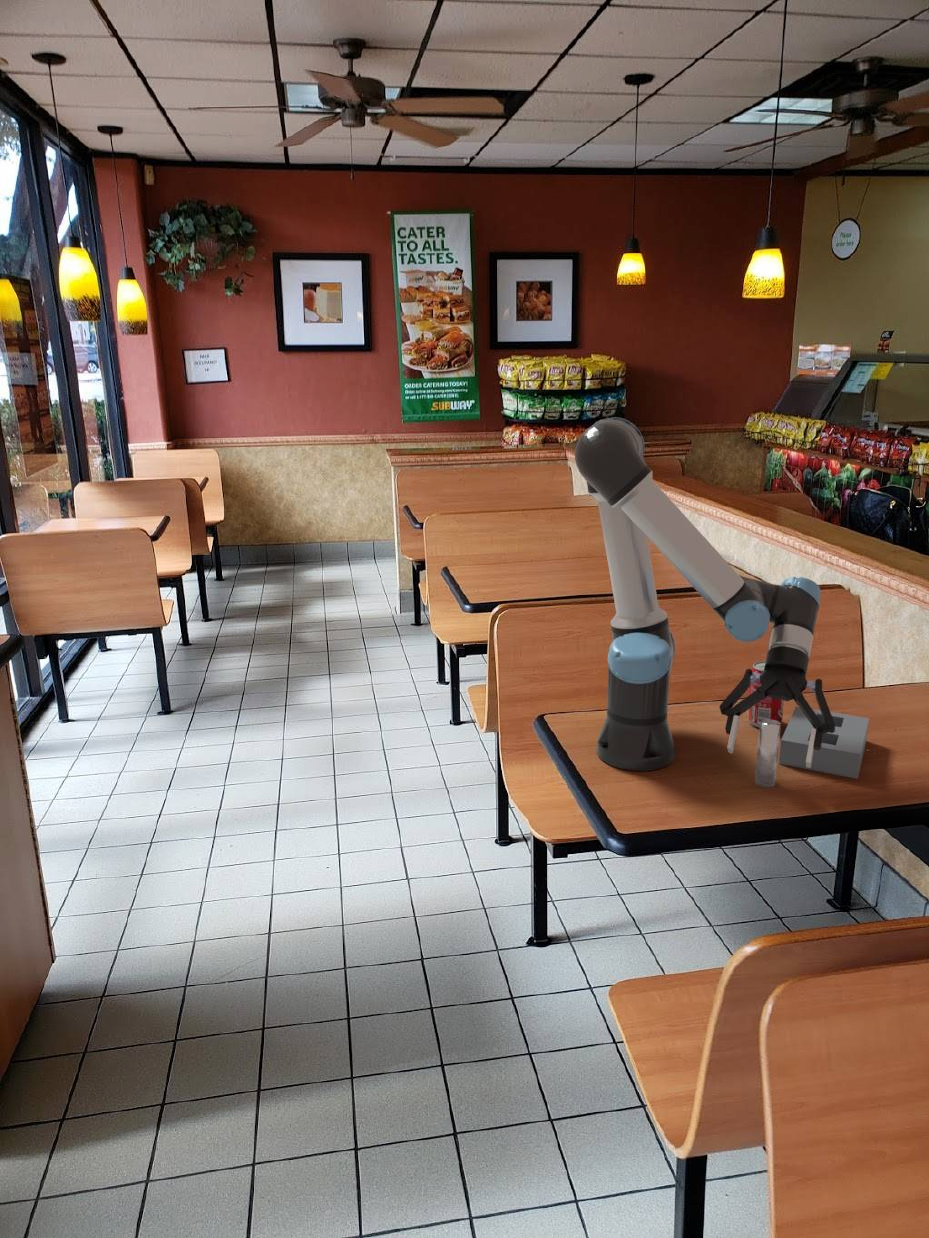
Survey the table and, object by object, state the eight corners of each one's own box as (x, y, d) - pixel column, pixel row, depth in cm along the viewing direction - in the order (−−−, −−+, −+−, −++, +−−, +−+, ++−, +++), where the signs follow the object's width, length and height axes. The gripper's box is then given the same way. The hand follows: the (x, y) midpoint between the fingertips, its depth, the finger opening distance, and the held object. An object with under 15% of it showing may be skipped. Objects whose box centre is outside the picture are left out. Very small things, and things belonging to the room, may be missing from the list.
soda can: (783, 731, 182) (789, 673, 178) (747, 729, 184) (752, 671, 180) (779, 717, 189) (784, 661, 185) (744, 715, 190) (749, 659, 186)
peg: (753, 784, 161) (758, 724, 157) (756, 776, 164) (762, 717, 160) (773, 788, 159) (778, 728, 155) (776, 780, 162) (782, 721, 158)
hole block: (778, 763, 168) (781, 739, 167) (793, 728, 183) (795, 706, 182) (857, 778, 162) (860, 754, 161) (866, 740, 177) (869, 718, 176)
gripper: (859, 672, 164) (842, 778, 156) (723, 653, 175) (701, 751, 167) (860, 654, 158) (842, 764, 149) (719, 636, 169) (696, 737, 161)
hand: (768, 757), depth 158 cm, fingers open, 13 cm apart
